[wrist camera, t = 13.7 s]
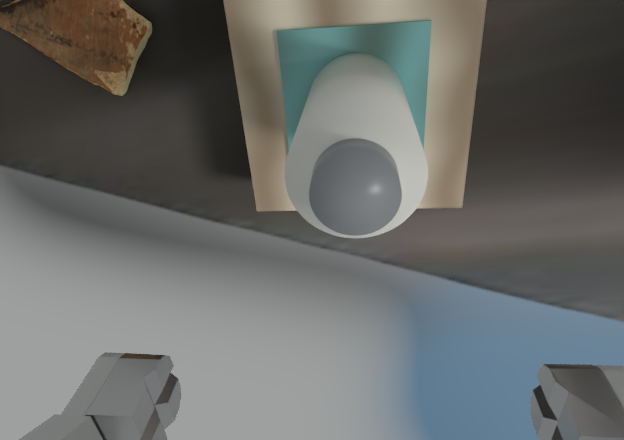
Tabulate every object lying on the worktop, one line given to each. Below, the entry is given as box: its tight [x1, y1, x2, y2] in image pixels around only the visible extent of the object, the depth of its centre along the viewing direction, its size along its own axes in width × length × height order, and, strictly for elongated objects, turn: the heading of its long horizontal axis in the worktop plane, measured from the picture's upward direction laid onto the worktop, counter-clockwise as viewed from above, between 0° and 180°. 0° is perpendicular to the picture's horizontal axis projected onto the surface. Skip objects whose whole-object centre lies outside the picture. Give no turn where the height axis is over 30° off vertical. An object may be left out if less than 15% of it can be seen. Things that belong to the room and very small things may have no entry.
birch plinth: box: [223, 0, 487, 211], centre depth 30 cm, size 15×16×5 cm
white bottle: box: [284, 53, 428, 238], centre depth 22 cm, size 6×6×13 cm
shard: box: [0, 0, 152, 96], centre depth 31 cm, size 11×8×2 cm
